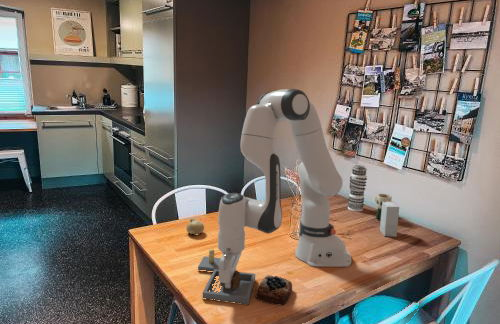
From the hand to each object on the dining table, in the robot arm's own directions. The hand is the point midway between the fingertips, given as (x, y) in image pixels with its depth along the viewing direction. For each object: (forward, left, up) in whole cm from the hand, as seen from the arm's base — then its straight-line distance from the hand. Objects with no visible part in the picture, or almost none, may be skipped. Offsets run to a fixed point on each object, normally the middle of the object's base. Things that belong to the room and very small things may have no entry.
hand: (230, 280), depth 122 cm
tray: (0, 0, -3) cm, 3 cm away
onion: (+25, -41, -4) cm, 48 cm away
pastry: (-15, 0, -4) cm, 15 cm away
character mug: (-65, -81, -4) cm, 104 cm away
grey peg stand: (+10, -13, -3) cm, 17 cm away
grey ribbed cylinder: (-53, -94, -4) cm, 108 cm away
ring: (0, 0, -1) cm, 1 cm away
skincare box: (-64, -62, -4) cm, 89 cm away
